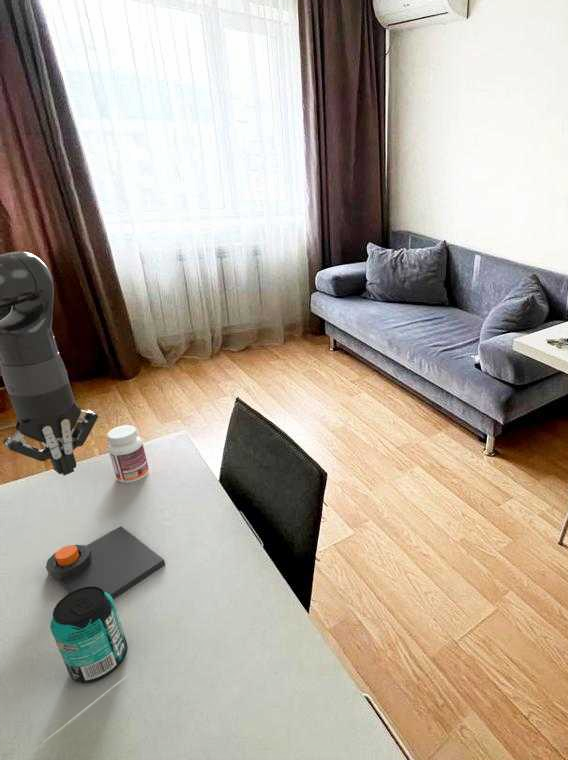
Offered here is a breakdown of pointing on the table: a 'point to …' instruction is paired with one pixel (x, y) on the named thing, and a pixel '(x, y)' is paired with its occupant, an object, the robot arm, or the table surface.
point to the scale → (108, 564)
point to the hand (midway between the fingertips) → (66, 472)
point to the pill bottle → (127, 454)
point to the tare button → (67, 555)
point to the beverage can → (88, 634)
